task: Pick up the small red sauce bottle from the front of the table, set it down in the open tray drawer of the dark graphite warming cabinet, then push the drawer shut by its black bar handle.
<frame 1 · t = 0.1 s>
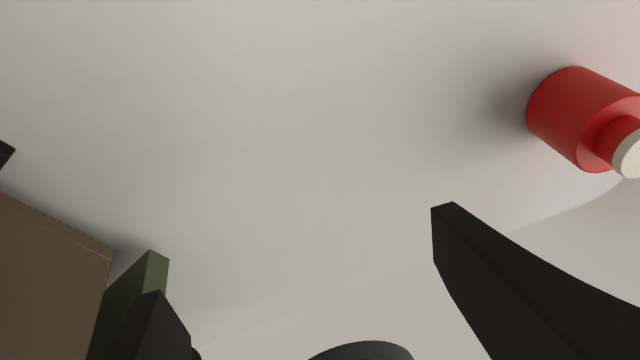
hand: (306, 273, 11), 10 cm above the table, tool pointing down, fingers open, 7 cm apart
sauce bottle: (560, 103, 22), on the table
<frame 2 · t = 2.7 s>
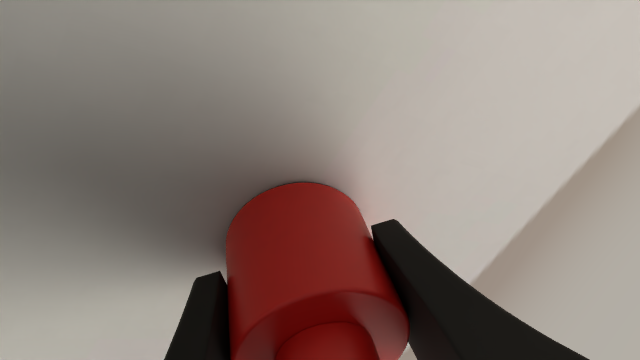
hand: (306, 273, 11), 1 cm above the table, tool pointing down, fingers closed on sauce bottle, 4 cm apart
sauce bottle: (296, 238, 12), on the table, touching gripper
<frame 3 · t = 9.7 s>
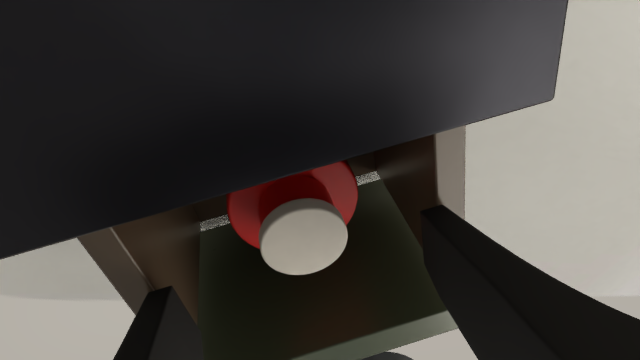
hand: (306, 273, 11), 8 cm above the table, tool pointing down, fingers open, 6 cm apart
drawer: (285, 190, 14), point 5 cm above the table, slide at 7.1 cm, touching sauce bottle
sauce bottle: (278, 144, 16), point 2 cm above the table, touching drawer
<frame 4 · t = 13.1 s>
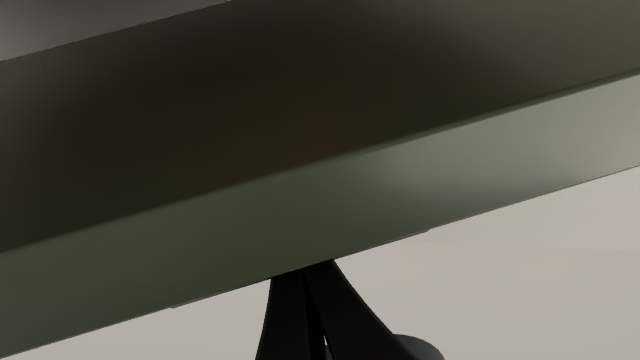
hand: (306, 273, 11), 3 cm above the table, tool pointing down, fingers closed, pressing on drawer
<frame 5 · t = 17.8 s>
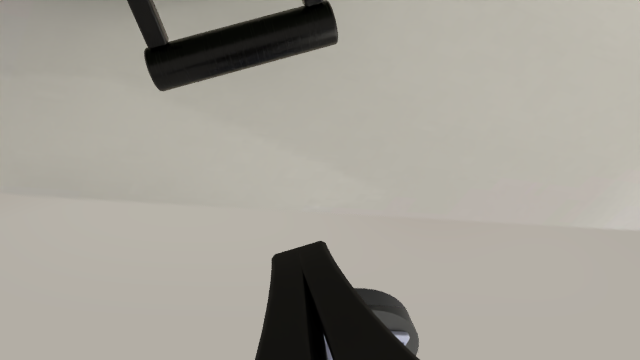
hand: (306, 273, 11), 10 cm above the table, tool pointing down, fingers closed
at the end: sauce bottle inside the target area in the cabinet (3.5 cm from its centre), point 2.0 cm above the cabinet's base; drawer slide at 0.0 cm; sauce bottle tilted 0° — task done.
